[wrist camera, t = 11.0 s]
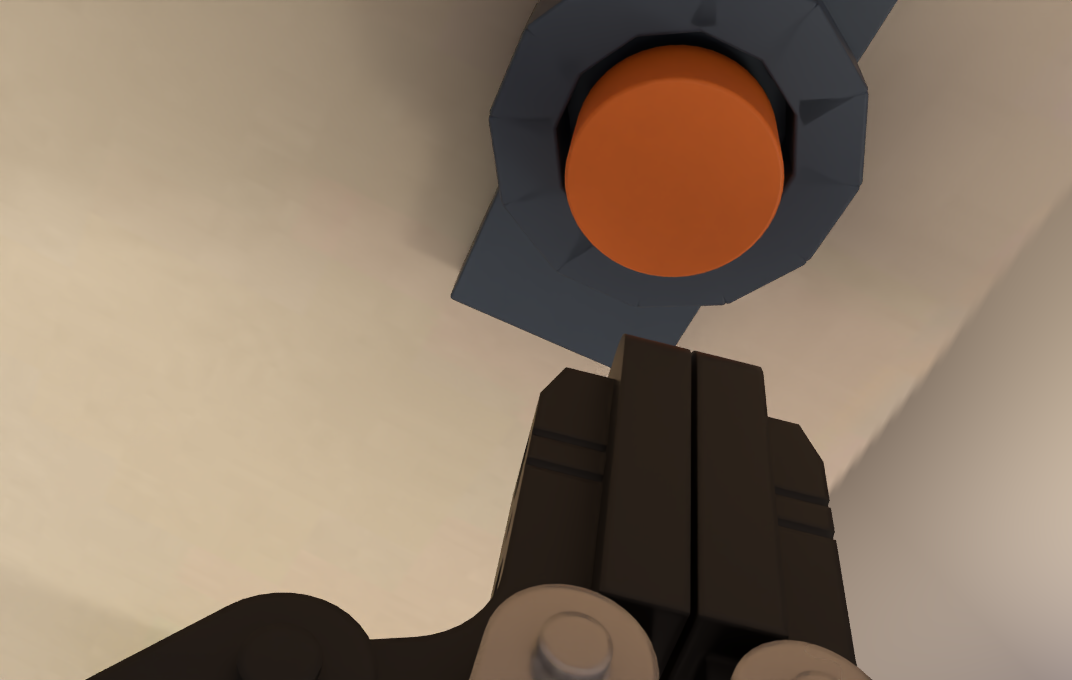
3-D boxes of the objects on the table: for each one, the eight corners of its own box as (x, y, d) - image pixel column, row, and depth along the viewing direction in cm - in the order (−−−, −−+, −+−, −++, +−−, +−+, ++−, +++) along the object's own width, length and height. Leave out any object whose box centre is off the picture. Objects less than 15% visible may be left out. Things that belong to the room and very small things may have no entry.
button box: (671, -312, 16) (666, -310, 14) (1010, -133, 17) (1065, -100, 14) (429, 259, 23) (397, 329, 20) (680, 368, 23) (678, 449, 21)
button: (628, 7, 16) (622, 38, 15) (817, 98, 17) (828, 137, 15) (543, 184, 18) (530, 226, 17) (713, 261, 19) (715, 310, 17)
